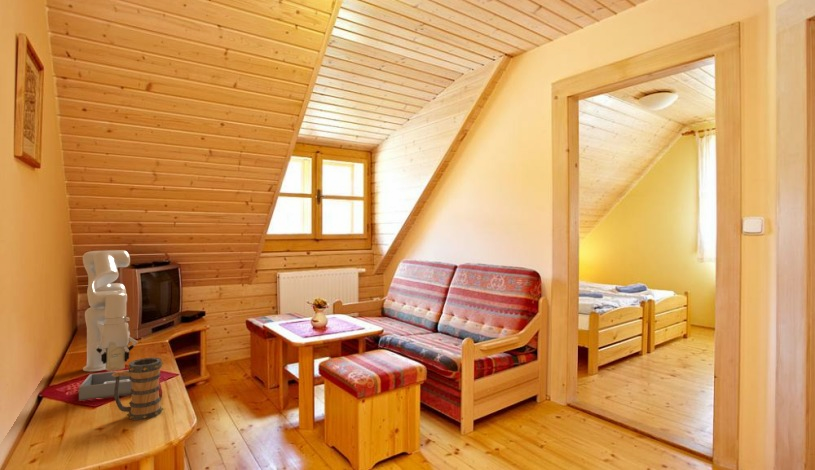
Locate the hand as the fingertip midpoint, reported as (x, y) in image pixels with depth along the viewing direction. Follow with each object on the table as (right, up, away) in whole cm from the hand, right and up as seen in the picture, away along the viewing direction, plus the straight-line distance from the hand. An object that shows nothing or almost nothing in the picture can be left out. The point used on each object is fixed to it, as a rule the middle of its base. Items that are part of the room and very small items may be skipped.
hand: (115, 361), depth 189 cm
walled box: (0, -13, 0) cm, 13 cm away
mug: (+26, -13, -25) cm, 38 cm away
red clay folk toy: (+22, -13, -11) cm, 28 cm away
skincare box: (0, -4, 0) cm, 4 cm away
